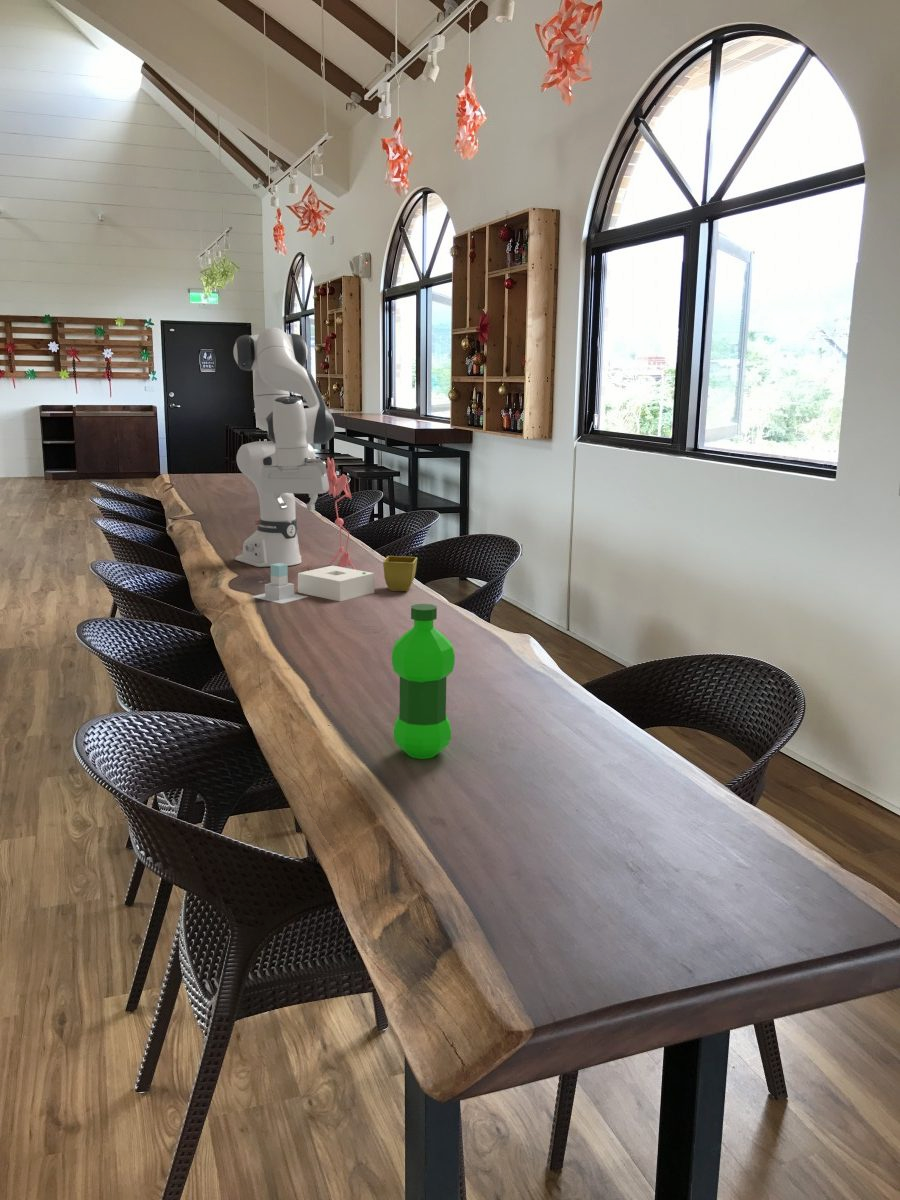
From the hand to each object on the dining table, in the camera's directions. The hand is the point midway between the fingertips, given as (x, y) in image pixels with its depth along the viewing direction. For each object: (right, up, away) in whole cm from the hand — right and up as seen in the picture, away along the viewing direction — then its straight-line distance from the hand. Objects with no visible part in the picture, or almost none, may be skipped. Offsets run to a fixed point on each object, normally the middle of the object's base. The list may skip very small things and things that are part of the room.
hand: (296, 509), depth 259 cm
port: (+10, -23, +9) cm, 26 cm away
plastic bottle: (+37, -50, -100) cm, 118 cm away
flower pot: (+27, -22, +16) cm, 38 cm away
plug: (-5, -24, +3) cm, 24 cm away
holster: (-5, -24, +3) cm, 25 cm away
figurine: (+4, -15, +43) cm, 46 cm away
